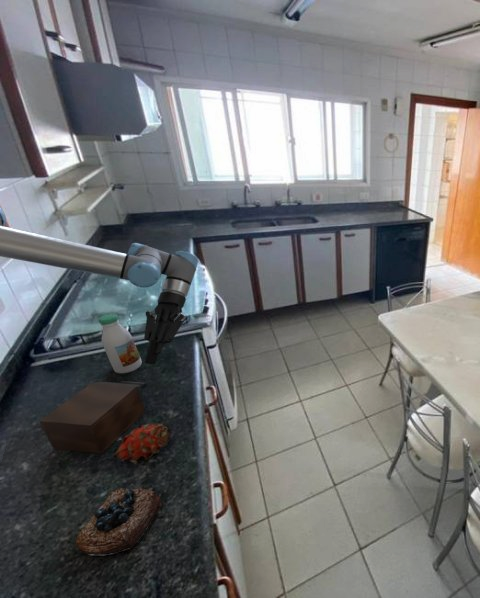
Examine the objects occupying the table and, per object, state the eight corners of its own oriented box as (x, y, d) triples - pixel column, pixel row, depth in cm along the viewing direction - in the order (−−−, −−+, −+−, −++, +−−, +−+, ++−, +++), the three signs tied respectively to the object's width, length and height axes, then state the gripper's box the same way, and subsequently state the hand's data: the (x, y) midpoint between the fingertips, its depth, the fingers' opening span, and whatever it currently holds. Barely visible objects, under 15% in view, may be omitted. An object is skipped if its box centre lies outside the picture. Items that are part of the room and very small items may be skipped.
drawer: (120, 392, 101) (113, 372, 98) (157, 396, 101) (151, 375, 97) (64, 439, 85) (53, 416, 81) (107, 443, 85) (98, 420, 81)
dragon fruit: (181, 444, 88) (128, 474, 82) (168, 417, 90) (115, 444, 84) (173, 441, 81) (114, 473, 75) (159, 411, 83) (100, 440, 77)
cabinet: (103, 408, 96) (93, 381, 92) (146, 411, 96) (137, 385, 92) (53, 449, 83) (38, 420, 79) (102, 453, 83) (90, 425, 79)
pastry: (168, 496, 74) (161, 479, 71) (131, 557, 63) (120, 540, 60) (118, 496, 73) (108, 479, 70) (71, 558, 62) (58, 541, 60)
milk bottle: (115, 377, 108) (91, 325, 99) (114, 365, 114) (91, 315, 105) (143, 368, 113) (123, 318, 104) (141, 357, 118) (122, 308, 109)
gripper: (198, 300, 116) (177, 367, 107) (162, 296, 116) (138, 363, 108) (186, 292, 109) (161, 363, 100) (147, 288, 109) (120, 359, 101)
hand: (149, 363), depth 104 cm, fingers closed
